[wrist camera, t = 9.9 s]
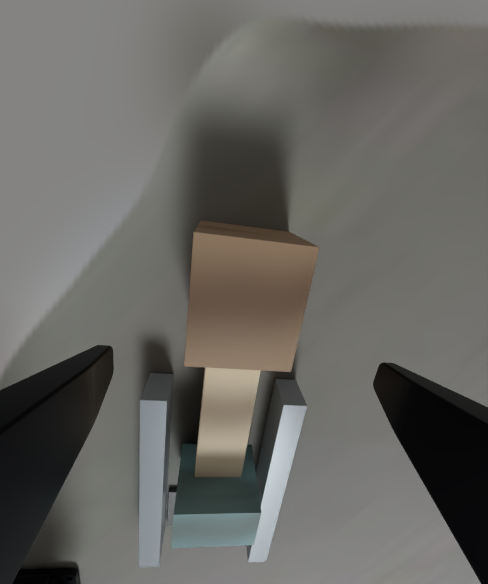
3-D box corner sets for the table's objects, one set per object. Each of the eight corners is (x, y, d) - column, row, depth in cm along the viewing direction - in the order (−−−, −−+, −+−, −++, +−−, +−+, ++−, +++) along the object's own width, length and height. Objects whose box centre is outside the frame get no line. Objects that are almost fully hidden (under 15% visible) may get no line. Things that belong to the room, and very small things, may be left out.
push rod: (246, 473, 21) (253, 545, 16) (180, 474, 20) (171, 548, 16) (273, 330, 17) (292, 376, 12) (192, 324, 16) (183, 371, 12)
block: (271, 324, 17) (290, 372, 13) (193, 318, 17) (184, 366, 12) (288, 231, 15) (319, 247, 11) (200, 220, 15) (193, 232, 10)
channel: (261, 526, 24) (265, 561, 22) (146, 529, 23) (138, 567, 20) (295, 379, 19) (307, 405, 17) (150, 372, 18) (140, 400, 15)
